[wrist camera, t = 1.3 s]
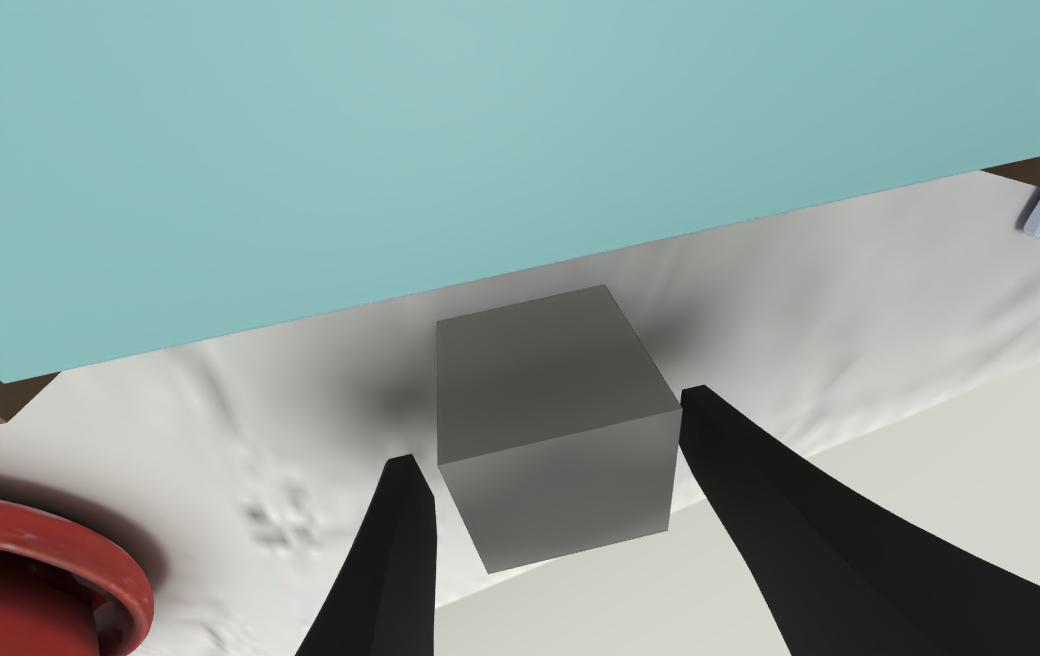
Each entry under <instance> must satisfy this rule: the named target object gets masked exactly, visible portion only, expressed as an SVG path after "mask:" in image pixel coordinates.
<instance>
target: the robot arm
mask: <svg viewBox="0 0 1040 656" xmlns="http://www.w3.org/2000/svg"><path fill="white" fill-rule="evenodd" d="M1024 233H1025V234H1027V235H1029V236H1032V237H1034V238H1037V239H1040V200H1039V202H1038V204H1037V205H1036V207H1035V209H1034V210H1033V212H1032V213H1031V215H1030V217H1029V218H1028V220H1027V222H1026V224H1025V226H1024ZM680 405H681V407H682V408H683V410H682V418H681V427H680V435H679V446H680V448H681V450H682V452H683V455H684V457H685V459H686V461H687V463H688V465H689V467H690V470H691V472H692V474H693V476H694V477H695V479H696V481H697V482H698V484H699V486H700V487H701V489H702V491H703V492H704V494H705V496H706V497H707V499H708V501H709V502H710V504H711V506H712V507H713V509H714V511H715V512H716V514H717V515H718V517H719V519H720V520H721V522H722V524H723V525H724V527H725V529H726V530H727V532H728V534H729V535H730V537H731V539H732V540H733V542H734V543H735V545H736V547H737V548H738V550H739V552H740V553H741V555H742V557H743V559H744V560H745V562H746V564H747V566H748V567H749V569H750V571H751V573H752V575H753V577H754V579H755V581H756V583H757V585H758V587H759V589H760V591H761V593H762V595H763V597H764V599H765V601H766V603H767V605H768V607H769V609H770V611H771V613H772V615H773V617H774V619H775V622H776V624H777V626H778V628H779V630H780V632H781V634H782V636H783V639H784V641H785V643H786V645H787V647H788V649H789V651H790V653H791V655H792V656H1040V586H1039V585H1037V584H1035V583H1032V582H1030V581H1028V580H1026V579H1023V578H1021V577H1019V576H1017V575H1015V574H1013V573H1011V572H1008V571H1006V570H1004V569H1002V568H1000V567H998V566H995V565H993V564H991V563H989V562H987V561H985V560H982V559H980V558H978V557H976V556H974V555H972V554H970V553H968V552H966V551H964V550H962V549H960V548H958V547H956V546H954V545H952V544H951V543H948V542H947V541H945V540H942V539H941V538H939V537H936V536H935V535H933V534H931V533H929V532H927V531H925V530H923V529H921V528H919V527H917V526H915V525H913V524H911V523H909V522H908V521H906V520H904V519H902V518H900V517H899V516H896V515H895V514H893V513H891V512H890V511H888V510H886V509H884V508H882V507H881V506H879V505H877V504H875V503H874V502H872V501H870V500H869V499H867V498H865V497H864V496H862V495H860V494H859V493H857V492H855V491H853V490H852V489H850V488H849V487H847V486H845V485H844V484H842V483H841V482H839V481H837V480H836V479H834V478H832V477H831V476H829V475H828V474H826V473H825V472H823V471H822V470H820V469H819V468H817V467H816V466H814V465H813V464H811V463H810V462H808V461H807V460H805V459H804V458H802V457H801V456H799V455H798V454H797V453H795V452H794V451H792V450H791V449H789V448H788V447H787V446H785V445H784V444H782V443H781V442H780V441H778V440H777V439H776V438H774V437H773V436H771V435H770V434H769V433H767V432H766V431H764V430H763V429H762V428H760V427H759V426H758V425H756V424H755V423H754V422H752V421H751V420H750V419H748V418H747V417H746V416H745V415H743V414H742V413H741V412H739V411H738V410H737V409H735V408H734V407H733V406H732V405H730V404H729V403H728V402H726V401H725V400H724V399H723V398H721V397H720V396H719V395H717V394H716V393H715V392H714V391H712V390H711V389H710V388H708V387H707V386H706V385H701V386H696V387H692V388H688V389H684V390H682V394H681V403H680ZM436 558H437V527H436V513H435V500H434V496H433V494H432V492H431V490H430V488H429V486H428V484H427V482H426V480H425V478H424V476H423V474H422V472H421V470H420V468H419V466H418V464H417V463H416V461H415V459H414V457H413V455H412V454H408V455H404V456H400V457H396V458H391V459H388V461H387V462H386V464H385V466H384V469H383V472H382V475H381V477H380V480H379V482H378V485H377V488H376V490H375V493H374V495H373V498H372V500H371V503H370V505H369V508H368V510H367V513H366V515H365V517H364V520H363V522H362V524H361V527H360V529H359V531H358V533H357V536H356V538H355V540H354V542H353V545H352V547H351V549H350V551H349V554H348V556H347V558H346V560H345V562H344V564H343V566H342V568H341V570H340V572H339V574H338V576H337V578H336V580H335V582H334V584H333V586H332V588H331V590H330V592H329V594H328V596H327V598H326V600H325V602H324V604H323V606H322V608H321V610H320V612H319V613H318V615H317V617H316V619H315V621H314V623H313V624H312V626H311V628H310V630H309V631H308V633H307V635H306V637H305V639H304V640H303V642H302V644H301V646H300V647H299V649H298V651H297V652H296V654H295V656H434V653H433V652H434V610H435V585H436Z"/></svg>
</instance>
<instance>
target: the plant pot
mask: <svg viewBox="0 0 1040 656" xmlns="http://www.w3.org/2000/svg"><path fill="white" fill-rule="evenodd" d="M153 615H154V599H153V594H152V589H151V586H150V584H149V581H148V579H147V577H146V575H145V573H144V572H143V570H142V569H141V567H140V566H139V565H138V564H137V563H136V561H135V560H134V559H133V558H132V557H131V556H130V555H129V554H128V553H126V552H125V551H124V550H123V549H122V548H121V547H119V546H118V545H116V544H115V543H114V542H112V541H111V540H109V539H107V538H106V537H104V536H102V535H100V534H99V533H97V532H95V531H93V530H91V529H89V528H87V527H85V526H83V525H80V524H78V523H75V522H73V521H71V520H68V519H66V518H63V517H60V516H57V515H54V514H51V513H48V512H45V511H42V510H39V509H36V508H33V507H29V506H26V505H21V504H17V503H13V502H8V501H4V500H0V656H127V655H129V654H130V653H131V652H133V651H134V650H135V649H136V648H137V647H138V646H139V645H140V644H141V643H142V642H143V640H144V639H145V637H146V636H147V634H148V632H149V630H150V627H151V624H152V621H153Z"/></svg>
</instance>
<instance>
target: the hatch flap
mask: <svg viewBox="0 0 1040 656" xmlns="http://www.w3.org/2000/svg"><path fill="white" fill-rule="evenodd" d="M1039 156H1040V0H0V381H1V382H3V383H4V384H5V383H10V382H14V381H19V380H23V379H28V378H32V377H37V376H42V375H46V374H51V373H55V372H60V371H64V370H69V369H73V368H78V367H83V366H87V365H92V364H96V363H101V362H105V361H110V360H114V359H119V358H124V357H128V356H133V355H137V354H142V353H146V352H151V351H155V350H160V349H165V348H169V347H174V346H178V345H183V344H187V343H192V342H196V341H201V340H206V339H210V338H215V337H219V336H224V335H228V334H233V333H237V332H242V331H247V330H251V329H256V328H260V327H265V326H269V325H274V324H278V323H283V322H288V321H292V320H297V319H301V318H306V317H310V316H315V315H319V314H324V313H329V312H333V311H338V310H342V309H347V308H351V307H356V306H360V305H365V304H370V303H374V302H379V301H383V300H388V299H392V298H397V297H401V296H406V295H411V294H415V293H420V292H424V291H429V290H433V289H438V288H442V287H447V286H452V285H456V284H461V283H465V282H470V281H474V280H479V279H483V278H488V277H493V276H497V275H502V274H506V273H511V272H515V271H520V270H524V269H529V268H534V267H538V266H543V265H547V264H552V263H556V262H561V261H565V260H570V259H575V258H579V257H584V256H588V255H593V254H597V253H602V252H606V251H611V250H616V249H620V248H625V247H629V246H634V245H638V244H643V243H647V242H652V241H657V240H661V239H666V238H670V237H675V236H679V235H684V234H688V233H693V232H698V231H702V230H707V229H711V228H716V227H720V226H725V225H729V224H734V223H739V222H743V221H748V220H752V219H757V218H761V217H766V216H770V215H775V214H780V213H784V212H789V211H793V210H798V209H802V208H807V207H811V206H816V205H821V204H825V203H830V202H834V201H839V200H843V199H848V198H852V197H857V196H862V195H866V194H871V193H875V192H880V191H884V190H889V189H893V188H898V187H903V186H907V185H912V184H916V183H921V182H925V181H930V180H934V179H939V178H944V177H948V176H953V175H957V174H962V173H966V172H971V171H975V170H980V169H985V168H989V167H994V166H998V165H1003V164H1007V163H1012V162H1016V161H1021V160H1026V159H1030V158H1035V157H1039Z"/></svg>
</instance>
